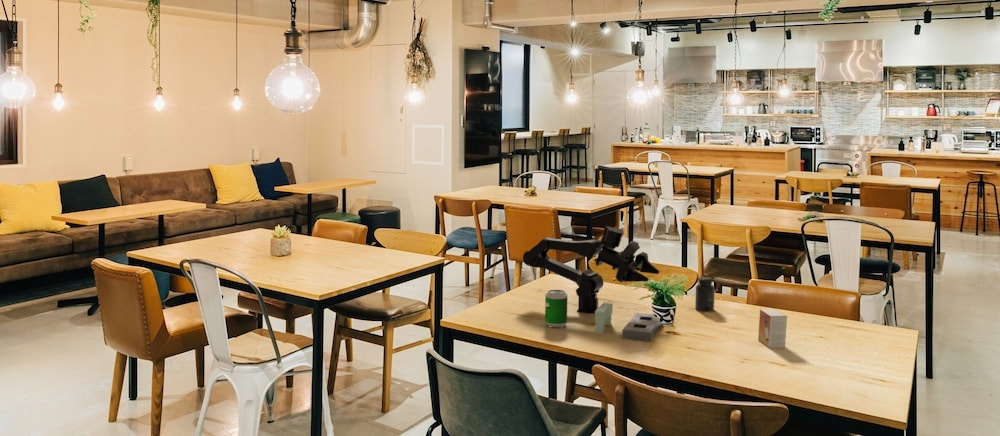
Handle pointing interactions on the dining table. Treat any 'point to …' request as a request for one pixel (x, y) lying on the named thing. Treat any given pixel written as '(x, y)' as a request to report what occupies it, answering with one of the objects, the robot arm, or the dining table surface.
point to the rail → (641, 327)
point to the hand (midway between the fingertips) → (653, 276)
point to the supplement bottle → (705, 295)
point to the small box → (772, 328)
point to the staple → (603, 316)
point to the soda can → (556, 308)
